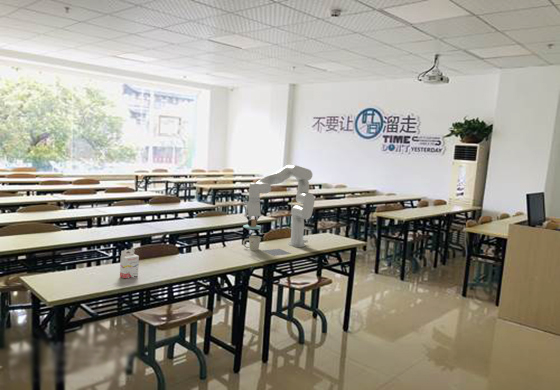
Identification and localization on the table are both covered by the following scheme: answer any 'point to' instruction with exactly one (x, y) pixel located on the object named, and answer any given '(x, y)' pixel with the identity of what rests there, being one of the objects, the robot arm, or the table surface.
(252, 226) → the lid
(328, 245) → the table surface
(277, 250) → the mat
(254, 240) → the mug
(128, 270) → the ink cartridge box
